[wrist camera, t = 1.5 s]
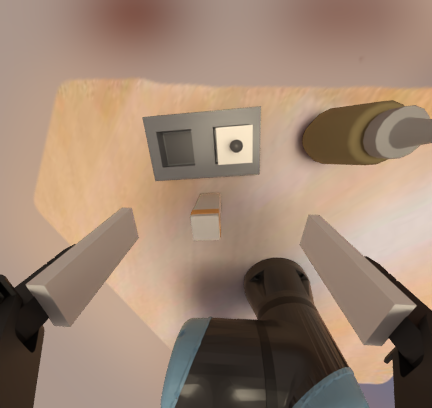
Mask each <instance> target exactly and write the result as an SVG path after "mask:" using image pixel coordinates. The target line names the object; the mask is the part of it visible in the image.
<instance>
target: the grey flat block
mask: <svg viewBox="0 0 432 408" xmlns="http://www.w3.org/2000/svg"><path fill="white" fill-rule="evenodd" d="M142 118H143V123H144V127H145V132H146V137H147V142H148V147H149V152H150V157H151V162H152V166H153V171H154V176H155V181H164V180H180V179H196V178H212V177H227V176H243V175H259V174H260V129H261V106H260V107H249V108H238V109H227V110H216V111H205V112H194V113H183V114H172V115H161V116H150V117H142ZM244 125H253V157H252V163H240V164H225V165H218V153H217V138H216V128H220V127H232V126H244Z"/></svg>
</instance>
